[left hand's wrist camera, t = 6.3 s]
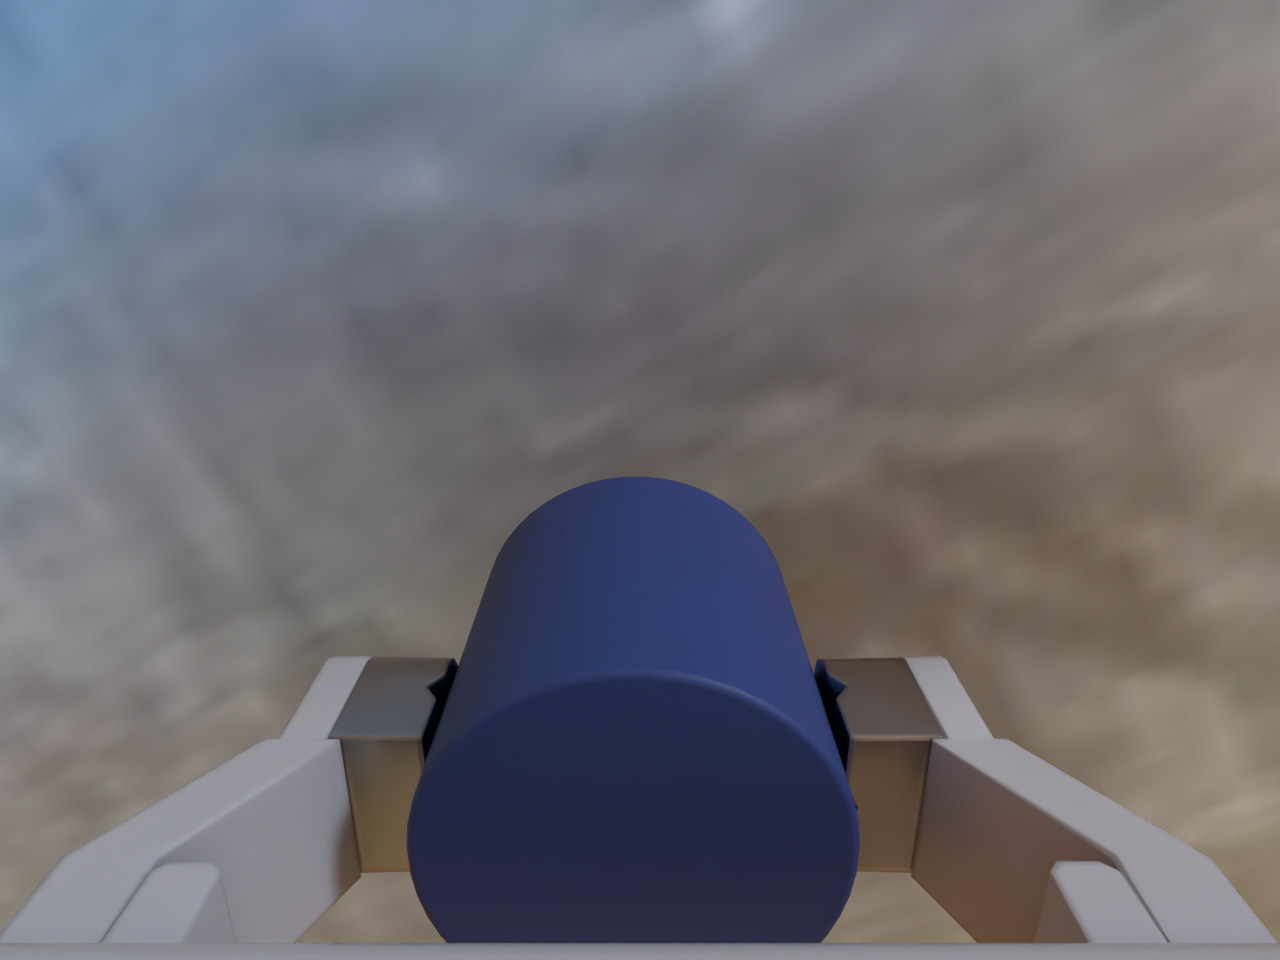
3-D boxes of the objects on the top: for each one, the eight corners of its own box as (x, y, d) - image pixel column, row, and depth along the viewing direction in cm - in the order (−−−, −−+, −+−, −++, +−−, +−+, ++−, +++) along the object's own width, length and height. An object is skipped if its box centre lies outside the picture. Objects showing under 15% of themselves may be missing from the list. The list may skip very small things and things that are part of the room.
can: (469, 711, 13) (384, 993, 9) (507, 447, 12) (429, 633, 7) (746, 755, 14) (795, 1049, 9) (820, 505, 12) (923, 716, 8)
